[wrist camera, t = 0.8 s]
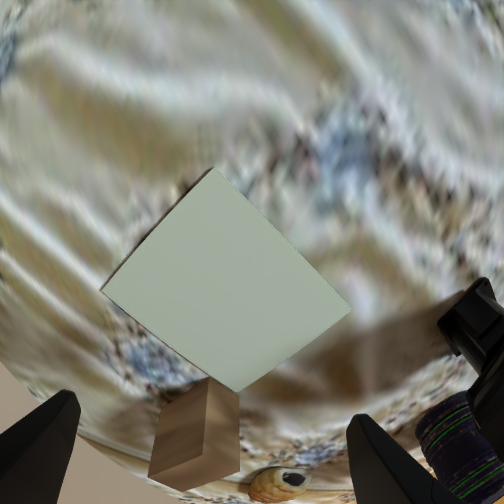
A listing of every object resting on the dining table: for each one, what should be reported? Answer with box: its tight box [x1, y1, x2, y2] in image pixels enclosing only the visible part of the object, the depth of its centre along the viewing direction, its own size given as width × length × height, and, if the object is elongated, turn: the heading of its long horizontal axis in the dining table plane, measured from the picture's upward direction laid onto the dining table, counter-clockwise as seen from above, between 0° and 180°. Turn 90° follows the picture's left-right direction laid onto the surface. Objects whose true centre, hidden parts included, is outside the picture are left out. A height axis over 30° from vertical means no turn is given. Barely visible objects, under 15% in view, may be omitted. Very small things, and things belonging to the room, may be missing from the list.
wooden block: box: [148, 377, 240, 492], centre depth 22 cm, size 4×7×8 cm, turn 134°
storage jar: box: [415, 390, 504, 504], centre depth 23 cm, size 10×10×15 cm
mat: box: [102, 167, 352, 393], centre depth 22 cm, size 14×12×1 cm
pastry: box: [248, 467, 313, 504], centre depth 31 cm, size 9×7×4 cm
